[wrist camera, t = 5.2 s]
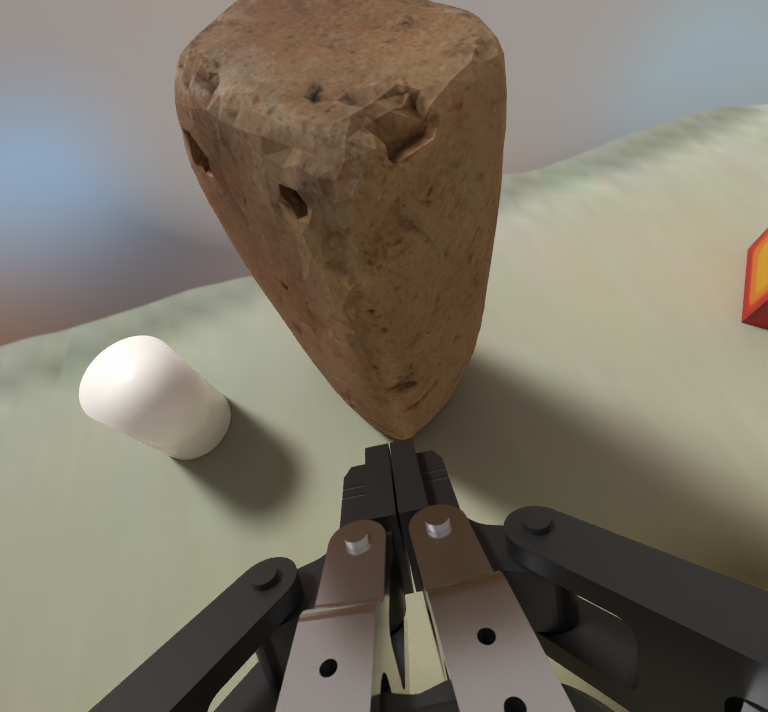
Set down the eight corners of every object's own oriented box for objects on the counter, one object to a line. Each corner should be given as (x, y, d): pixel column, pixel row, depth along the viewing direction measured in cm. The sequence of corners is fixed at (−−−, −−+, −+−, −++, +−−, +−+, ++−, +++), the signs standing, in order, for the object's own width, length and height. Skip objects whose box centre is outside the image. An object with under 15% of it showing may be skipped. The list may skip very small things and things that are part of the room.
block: (483, 378, 27) (566, 5, 10) (404, 464, 25) (332, 186, 8) (365, 293, 31) (276, -71, 14) (290, 360, 29) (76, 31, 12)
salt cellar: (154, 467, 27) (70, 432, 21) (161, 396, 29) (88, 346, 23) (230, 451, 27) (169, 411, 21) (231, 381, 29) (176, 327, 23)
